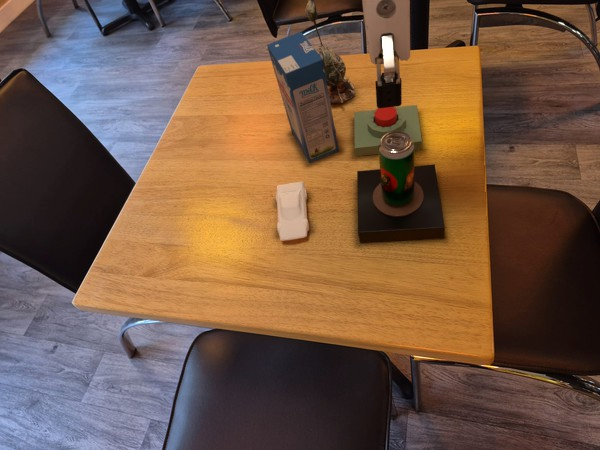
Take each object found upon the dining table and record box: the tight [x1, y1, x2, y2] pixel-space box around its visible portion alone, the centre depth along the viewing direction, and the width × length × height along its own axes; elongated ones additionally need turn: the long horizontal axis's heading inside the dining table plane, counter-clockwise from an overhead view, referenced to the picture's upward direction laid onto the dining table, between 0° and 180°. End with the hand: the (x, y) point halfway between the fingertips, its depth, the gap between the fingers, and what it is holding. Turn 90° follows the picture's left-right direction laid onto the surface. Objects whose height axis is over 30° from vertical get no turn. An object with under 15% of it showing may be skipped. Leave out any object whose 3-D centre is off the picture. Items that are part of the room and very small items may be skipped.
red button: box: [375, 107, 397, 127], centre depth 80 cm, size 4×4×2 cm
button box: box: [353, 104, 423, 157], centre depth 82 cm, size 12×10×4 cm
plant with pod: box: [305, 0, 356, 105], centre depth 86 cm, size 8×11×20 cm
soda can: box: [378, 131, 416, 206], centre depth 66 cm, size 5×5×12 cm
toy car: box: [275, 181, 310, 242], centre depth 75 cm, size 6×12×3 cm, turn 3°
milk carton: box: [266, 31, 340, 164], centre depth 79 cm, size 10×6×20 cm, turn 20°
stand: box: [356, 163, 446, 244], centre depth 72 cm, size 13×13×3 cm
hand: (386, 82), depth 61 cm, fingers open, 9 cm apart
